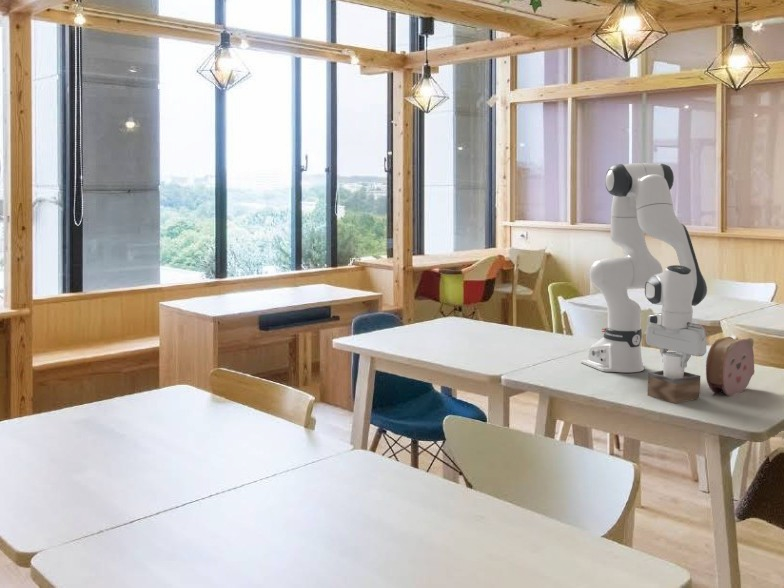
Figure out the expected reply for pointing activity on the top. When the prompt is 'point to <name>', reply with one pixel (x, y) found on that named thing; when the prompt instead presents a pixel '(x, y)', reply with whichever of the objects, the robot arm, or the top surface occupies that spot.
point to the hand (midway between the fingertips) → (674, 365)
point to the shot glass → (673, 365)
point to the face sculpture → (730, 365)
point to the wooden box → (673, 387)
